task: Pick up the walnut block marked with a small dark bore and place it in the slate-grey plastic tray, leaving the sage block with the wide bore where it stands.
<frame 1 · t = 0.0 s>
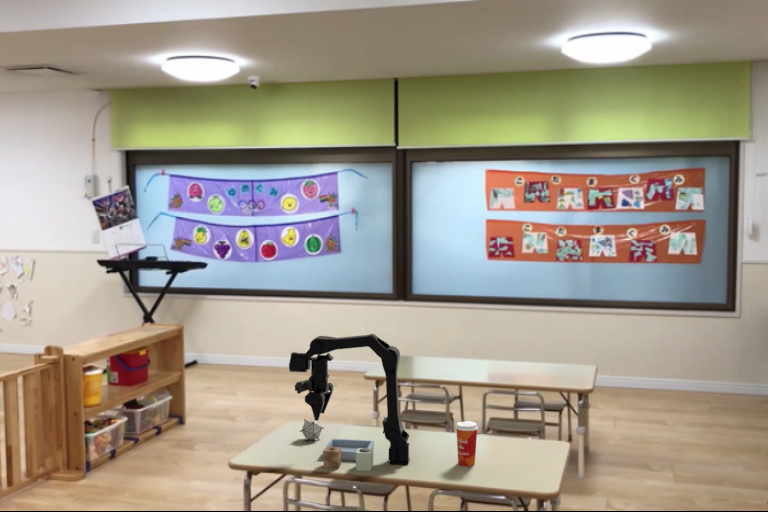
hand: (319, 416, 266), 15 cm above the table, tool pointing down, fingers open, 9 cm apart
paper cup: (466, 464, 261), on the table
game die: (311, 440, 288), on the table
walnut block: (332, 466, 258), on the table
sage block: (364, 468, 256), on the table
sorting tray: (349, 453, 271), on the table
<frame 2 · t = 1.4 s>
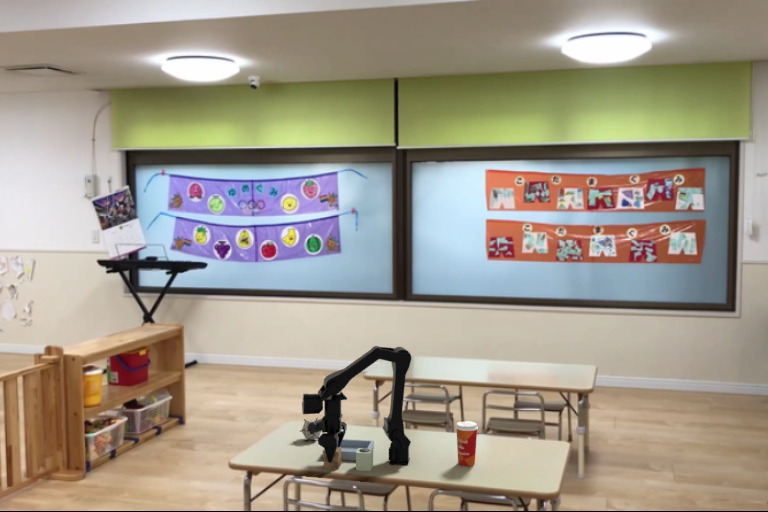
hand: (332, 457, 258), 3 cm above the table, tool pointing down, fingers open, 9 cm apart
nothing on the table moved.
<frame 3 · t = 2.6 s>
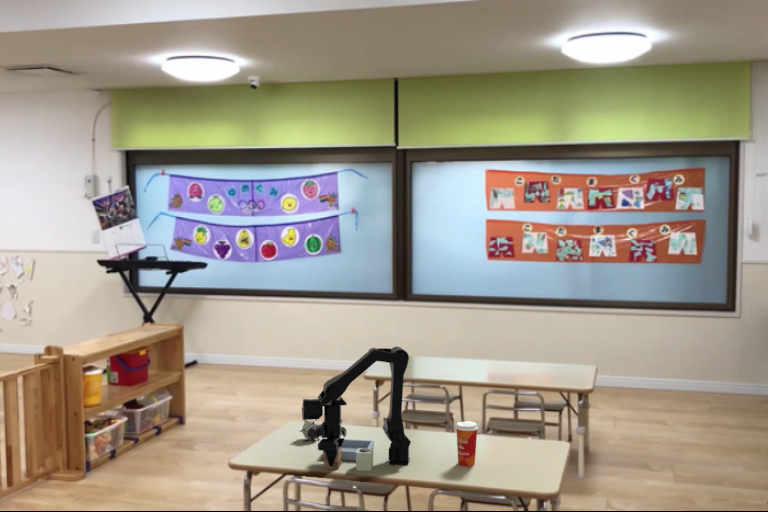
hand: (332, 463, 258), 1 cm above the table, tool pointing down, fingers closed on walnut block, 5 cm apart
walnut block: (332, 466, 258), on the table, touching gripper
everything else where it was.
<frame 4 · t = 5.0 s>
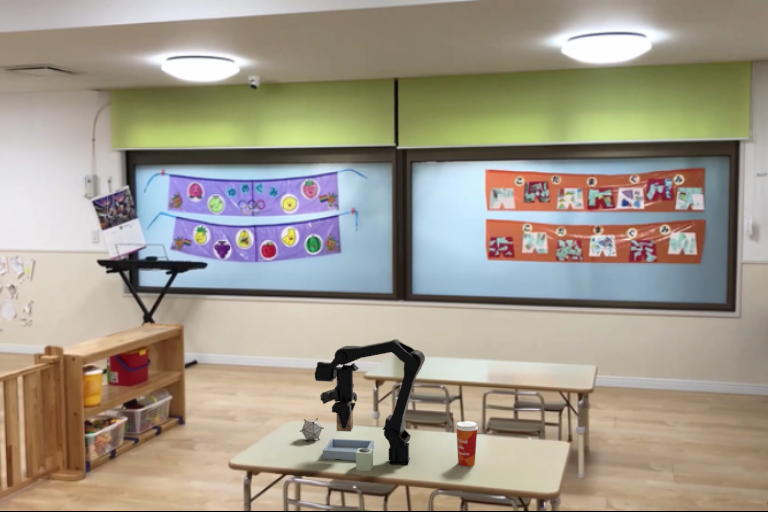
hand: (345, 426, 267), 11 cm above the table, tool pointing down, fingers closed on walnut block, 5 cm apart
walnut block: (344, 429, 267), point 10 cm above the table, touching gripper
everything else where it was.
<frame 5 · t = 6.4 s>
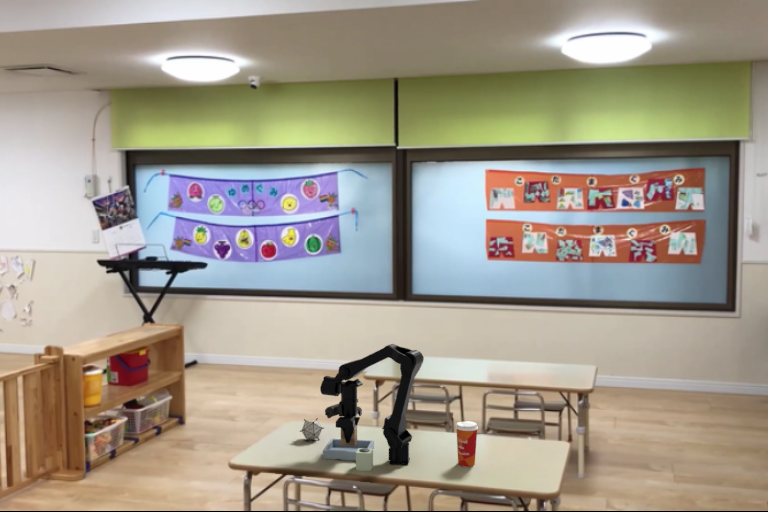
hand: (349, 440, 271), 5 cm above the table, tool pointing down, fingers closed on walnut block, 5 cm apart
walnut block: (349, 443, 271), point 4 cm above the table, touching gripper
everything else where it was.
when the fingers open (4 cm above the table, at t = 7.4 s): walnut block drops 2 cm, resting on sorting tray.
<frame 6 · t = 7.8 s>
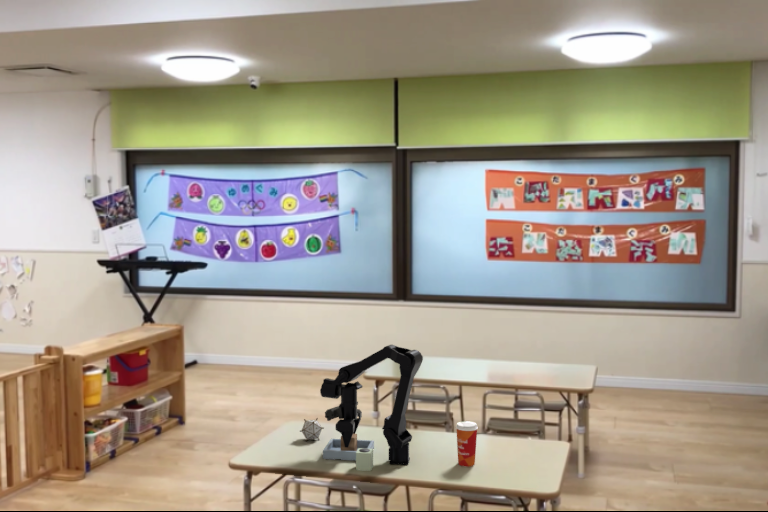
hand: (349, 443, 271), 4 cm above the table, tool pointing down, fingers open, 9 cm apart
walnut block: (348, 452, 271), point 1 cm above the table, touching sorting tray
everything else where it was.
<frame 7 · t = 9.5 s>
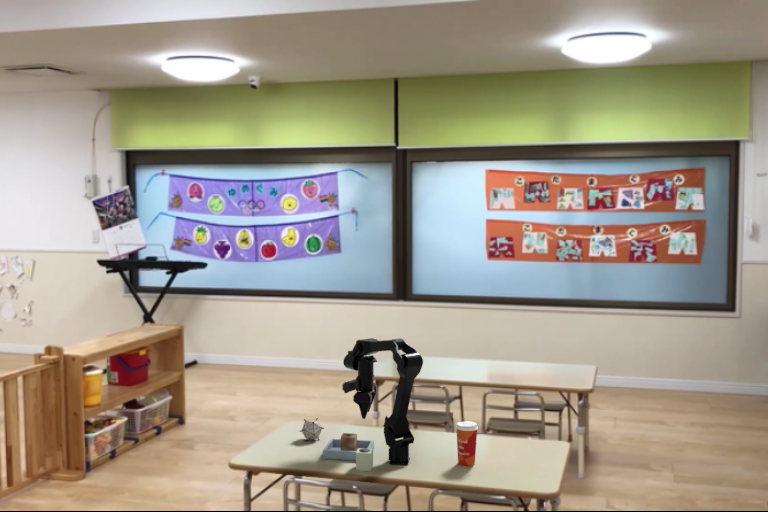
hand: (365, 415, 278), 12 cm above the table, tool pointing down, fingers open, 9 cm apart
nothing on the table moved.
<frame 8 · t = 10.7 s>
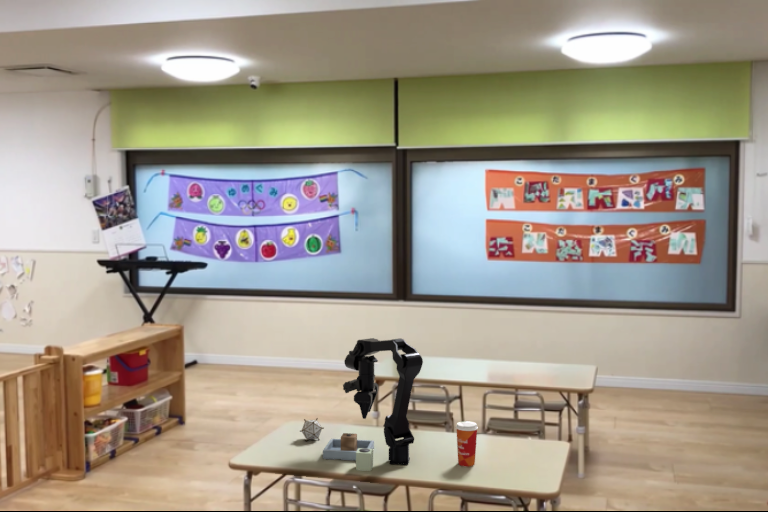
hand: (366, 415, 278), 12 cm above the table, tool pointing down, fingers open, 9 cm apart
nothing on the table moved.
at the end: walnut block inside the target area on the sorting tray (0.0 cm from its centre), point 0.6 cm above the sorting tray's base; walnut block tilted 0°; sage block moved 0.1 cm from its start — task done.
